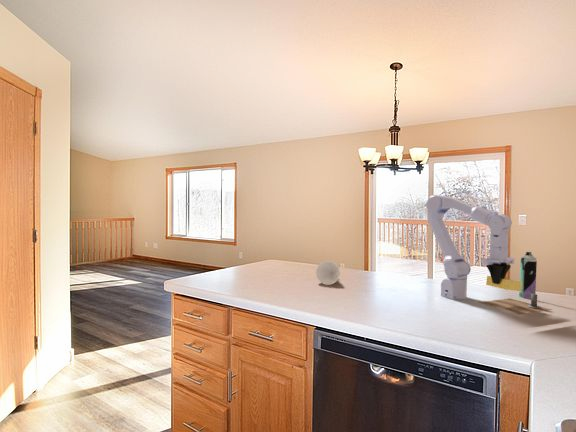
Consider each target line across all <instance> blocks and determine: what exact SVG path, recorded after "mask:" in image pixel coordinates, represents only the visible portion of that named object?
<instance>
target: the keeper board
mask: <svg viewBox="0 0 576 432" xmlns="http://www.w3.org/2000/svg"><path fill="white" fill-rule="evenodd" d="M478 304H481V305H485V306H489V307H491V308H492V307H493V308H495V309H499V310H502V311H505V312H509V313H511V314H515V315H525V314H534V313H539V312H546V311H547V312H548V311H551V310H553V308H547V307H543V306H540V305H538V294H531V299H530V302H524V301H520V300H517V299H513V298H502V299H501V298H500V299H494V300H486V301H485V300H484V301H478Z"/></svg>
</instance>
